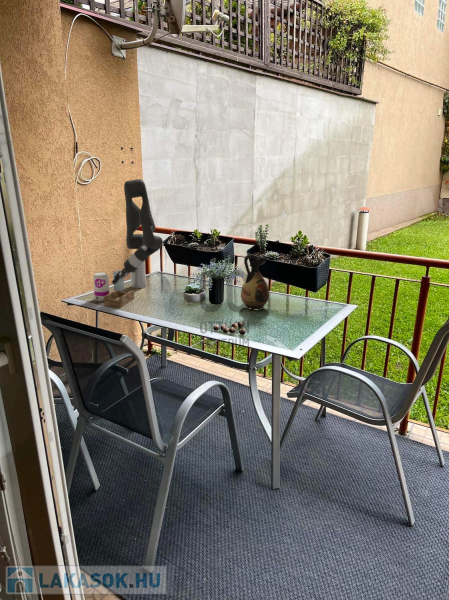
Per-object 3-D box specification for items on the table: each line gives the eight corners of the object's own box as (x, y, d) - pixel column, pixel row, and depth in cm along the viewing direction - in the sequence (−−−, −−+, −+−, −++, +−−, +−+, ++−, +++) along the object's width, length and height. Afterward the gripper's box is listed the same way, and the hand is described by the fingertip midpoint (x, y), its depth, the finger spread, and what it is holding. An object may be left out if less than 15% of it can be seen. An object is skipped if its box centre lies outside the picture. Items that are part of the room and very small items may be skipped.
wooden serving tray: (118, 297, 258) (117, 288, 257) (134, 298, 256) (133, 290, 254) (104, 305, 244) (104, 296, 242) (121, 307, 241) (120, 298, 240)
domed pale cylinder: (118, 287, 251) (117, 270, 248) (126, 288, 249) (125, 271, 246) (111, 289, 246) (110, 272, 243) (120, 291, 244) (119, 273, 241)
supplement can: (107, 301, 251) (105, 275, 246) (93, 301, 251) (91, 275, 246) (111, 297, 258) (109, 272, 254) (97, 297, 258) (95, 272, 254)
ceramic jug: (261, 302, 253) (264, 250, 244) (272, 311, 239) (275, 256, 230) (233, 305, 248) (234, 252, 239) (243, 313, 234) (244, 258, 225)
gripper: (135, 254, 247) (117, 273, 253) (123, 259, 233) (104, 279, 240) (144, 264, 247) (126, 283, 253) (133, 270, 234) (114, 290, 240)
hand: (115, 281), depth 247 cm, fingers closed on domed pale cylinder, 5 cm apart
